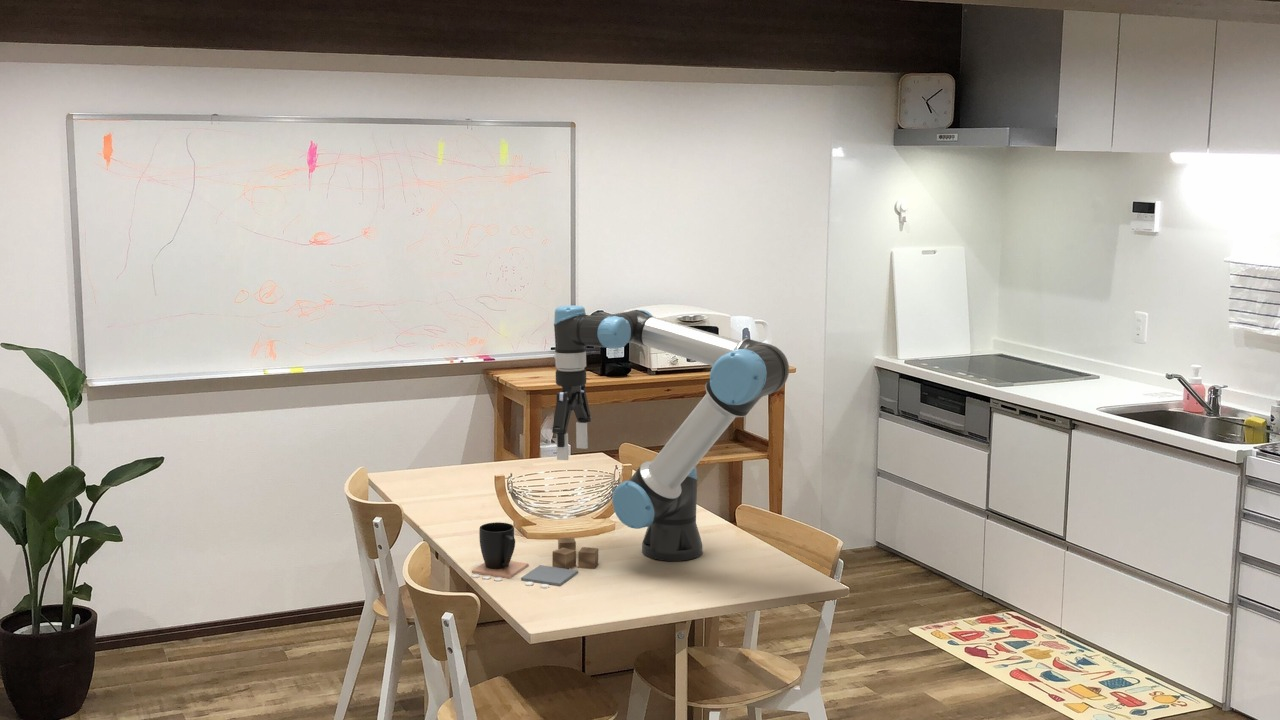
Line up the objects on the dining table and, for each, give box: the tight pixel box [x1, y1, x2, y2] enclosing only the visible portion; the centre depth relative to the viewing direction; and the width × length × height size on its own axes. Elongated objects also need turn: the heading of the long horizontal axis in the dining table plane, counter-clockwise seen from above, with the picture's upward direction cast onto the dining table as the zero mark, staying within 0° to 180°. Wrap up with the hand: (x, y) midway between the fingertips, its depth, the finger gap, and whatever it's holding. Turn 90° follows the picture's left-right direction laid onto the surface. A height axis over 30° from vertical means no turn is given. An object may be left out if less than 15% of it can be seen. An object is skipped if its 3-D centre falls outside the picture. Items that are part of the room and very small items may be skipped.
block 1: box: [557, 537, 577, 551], centre depth 304 cm, size 4×4×4 cm
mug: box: [478, 521, 516, 569], centre depth 292 cm, size 8×12×10 cm
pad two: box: [520, 564, 579, 589], centre depth 287 cm, size 10×13×1 cm
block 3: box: [577, 546, 599, 570], centre depth 297 cm, size 4×4×4 cm
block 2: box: [551, 548, 577, 569], centre depth 296 cm, size 4×4×4 cm
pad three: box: [470, 560, 530, 582], centre depth 292 cm, size 10×13×1 cm
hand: (572, 453), depth 304 cm, fingers open, 13 cm apart
